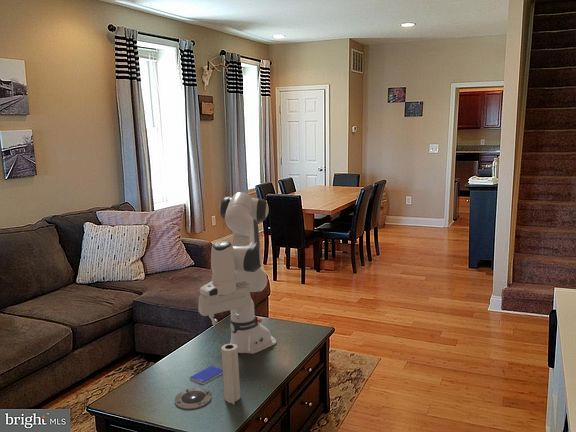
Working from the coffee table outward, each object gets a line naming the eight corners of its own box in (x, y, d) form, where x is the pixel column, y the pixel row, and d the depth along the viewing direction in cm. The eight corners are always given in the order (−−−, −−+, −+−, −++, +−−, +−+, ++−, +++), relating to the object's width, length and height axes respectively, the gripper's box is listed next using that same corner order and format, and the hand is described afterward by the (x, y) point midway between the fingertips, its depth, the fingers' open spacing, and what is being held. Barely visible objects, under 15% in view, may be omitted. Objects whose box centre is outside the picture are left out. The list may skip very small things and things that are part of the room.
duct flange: (202, 386, 204) (202, 383, 204) (217, 401, 192) (217, 398, 192) (169, 397, 197) (169, 394, 196) (183, 413, 185) (182, 410, 185)
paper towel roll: (229, 393, 198) (225, 342, 194) (243, 395, 196) (240, 344, 192) (220, 402, 191) (216, 350, 187) (234, 405, 189) (231, 352, 185)
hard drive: (202, 382, 205) (224, 370, 215) (189, 376, 210) (210, 365, 219) (202, 386, 205) (224, 373, 215) (189, 380, 210) (211, 368, 220)
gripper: (245, 278, 193) (247, 312, 196) (195, 289, 183) (197, 325, 185) (253, 282, 188) (255, 317, 191) (202, 293, 177) (204, 330, 180)
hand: (226, 321), depth 188 cm, fingers open, 8 cm apart
